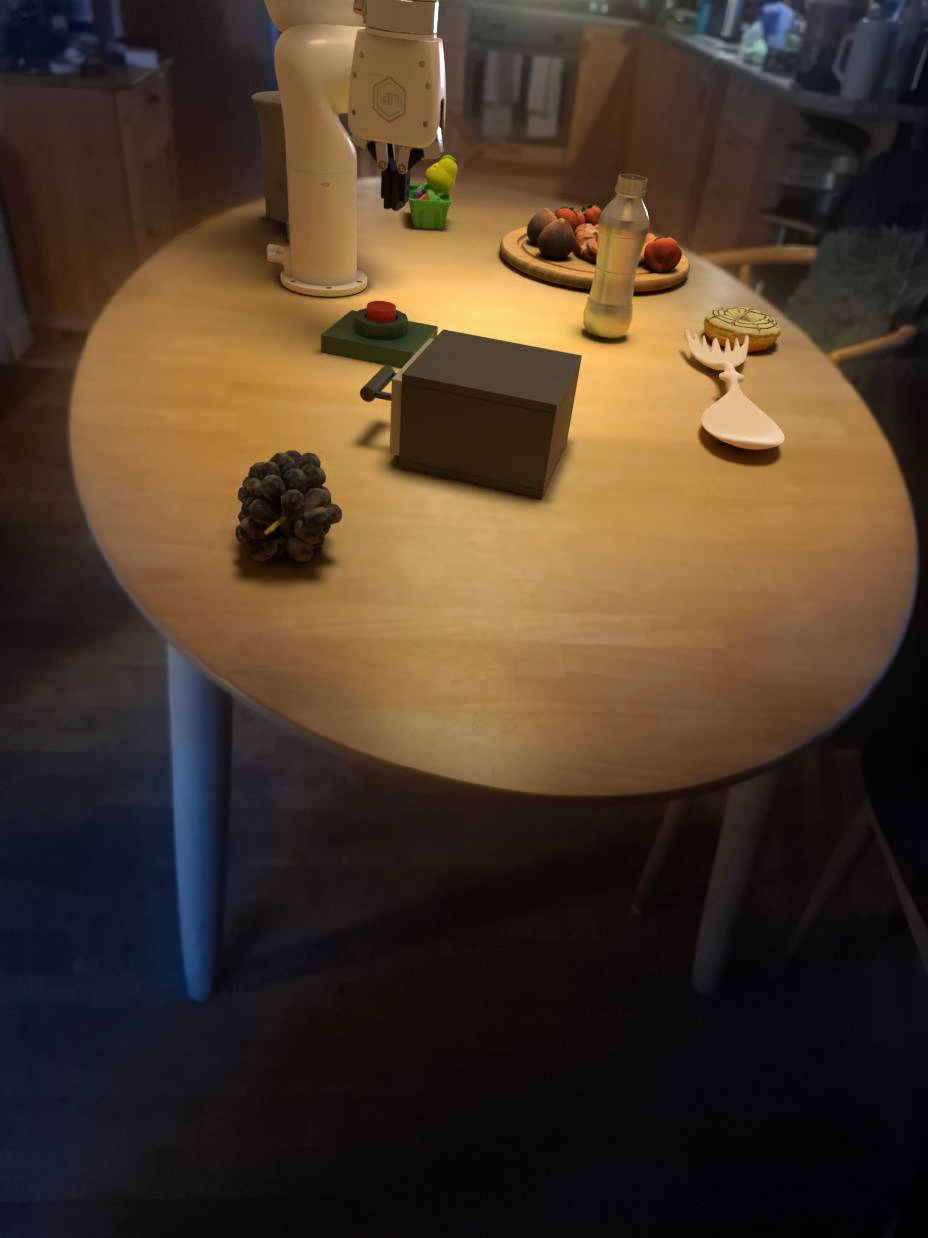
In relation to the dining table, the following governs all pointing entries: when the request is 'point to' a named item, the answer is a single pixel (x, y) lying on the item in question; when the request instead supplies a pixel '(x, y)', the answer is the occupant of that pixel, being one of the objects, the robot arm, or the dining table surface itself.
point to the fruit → (285, 507)
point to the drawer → (390, 395)
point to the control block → (376, 338)
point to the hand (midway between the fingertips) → (394, 206)
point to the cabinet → (487, 411)
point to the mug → (273, 155)
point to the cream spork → (734, 400)
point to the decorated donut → (742, 327)
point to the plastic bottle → (617, 259)
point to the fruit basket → (433, 195)
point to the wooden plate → (585, 251)
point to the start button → (381, 311)
